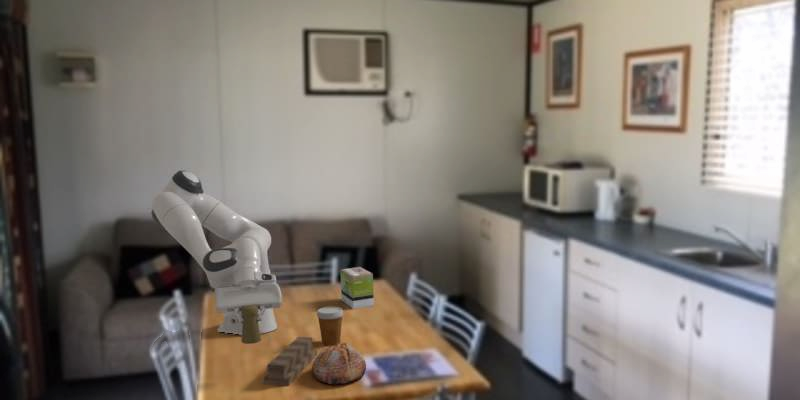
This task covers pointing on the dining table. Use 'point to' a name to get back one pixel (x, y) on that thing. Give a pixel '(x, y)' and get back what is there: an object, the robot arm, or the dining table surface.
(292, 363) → the ridge stand
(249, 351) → the dining table surface
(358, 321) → the dining table surface
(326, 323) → the disposable coffee cup
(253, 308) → the olive pawn
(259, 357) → the dining table surface
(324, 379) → the bread
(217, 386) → the dining table surface
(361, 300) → the tea box
